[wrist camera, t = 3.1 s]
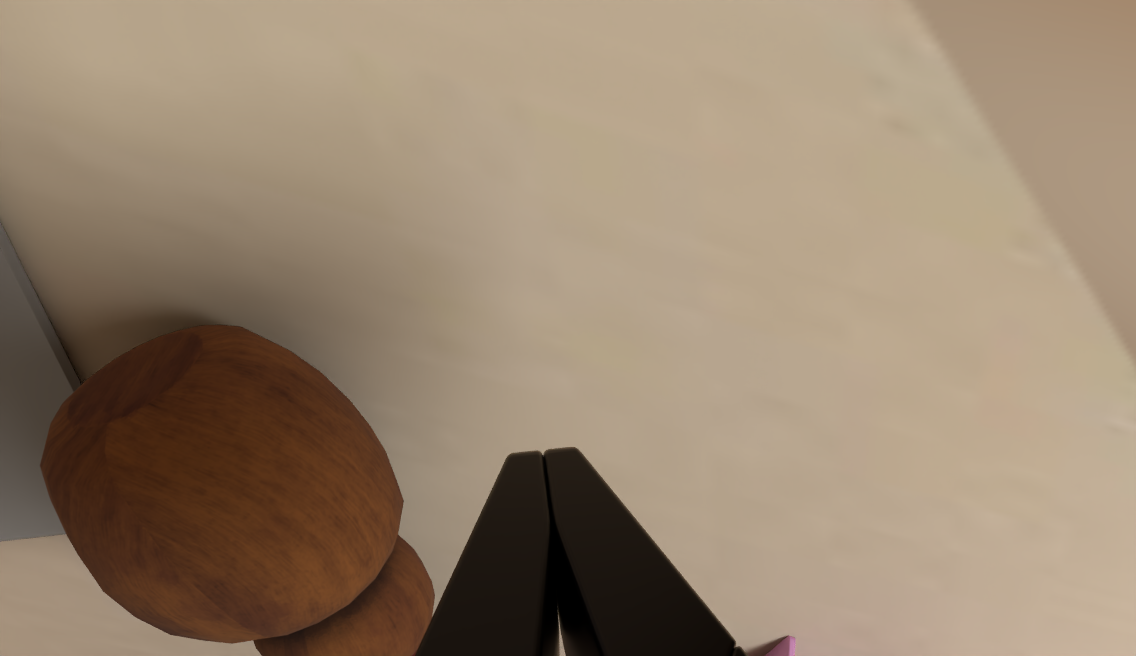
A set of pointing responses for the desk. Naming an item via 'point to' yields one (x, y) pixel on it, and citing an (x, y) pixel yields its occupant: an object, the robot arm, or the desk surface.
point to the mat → (27, 401)
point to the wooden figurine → (236, 500)
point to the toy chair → (784, 648)
